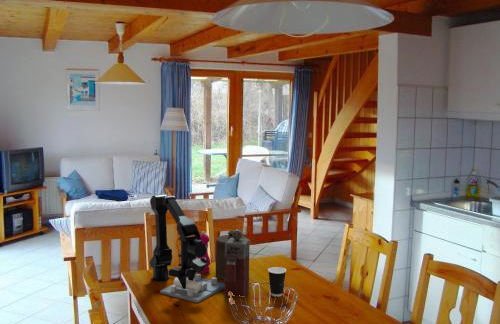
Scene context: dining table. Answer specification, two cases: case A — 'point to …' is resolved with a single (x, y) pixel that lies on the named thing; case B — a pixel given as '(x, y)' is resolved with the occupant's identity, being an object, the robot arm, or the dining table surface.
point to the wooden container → (222, 254)
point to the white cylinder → (189, 284)
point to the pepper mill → (205, 241)
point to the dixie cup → (276, 280)
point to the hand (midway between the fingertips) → (187, 287)
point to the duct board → (188, 294)
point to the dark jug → (237, 265)
